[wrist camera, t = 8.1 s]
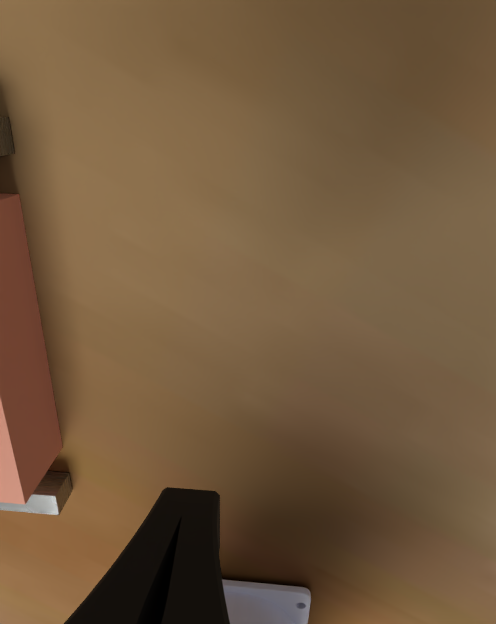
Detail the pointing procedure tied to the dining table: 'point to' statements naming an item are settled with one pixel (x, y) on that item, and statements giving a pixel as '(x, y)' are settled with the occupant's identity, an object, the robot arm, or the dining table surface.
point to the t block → (22, 367)
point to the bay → (53, 484)
